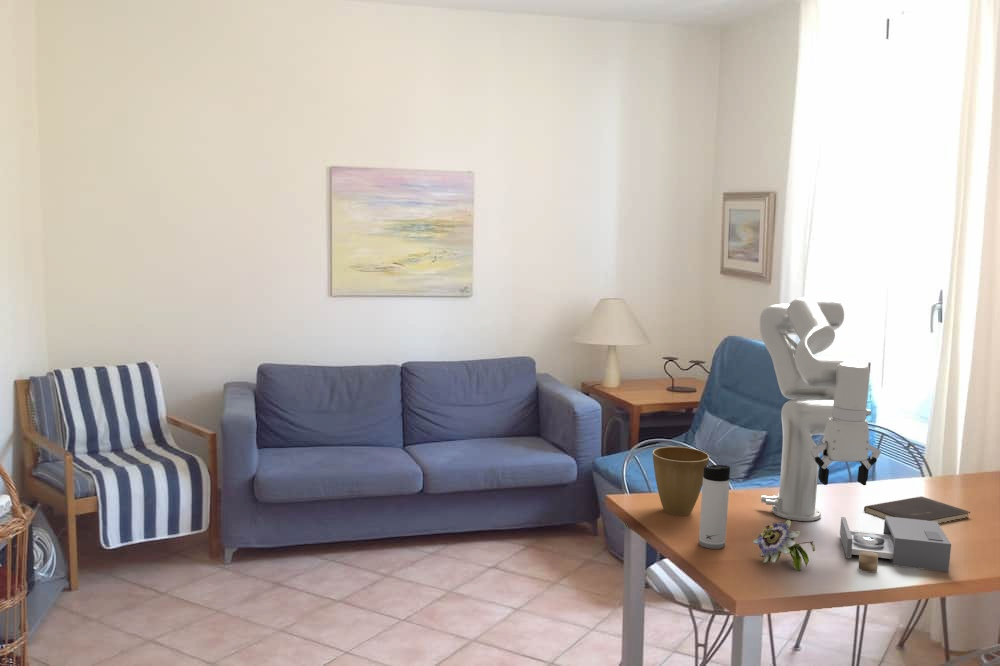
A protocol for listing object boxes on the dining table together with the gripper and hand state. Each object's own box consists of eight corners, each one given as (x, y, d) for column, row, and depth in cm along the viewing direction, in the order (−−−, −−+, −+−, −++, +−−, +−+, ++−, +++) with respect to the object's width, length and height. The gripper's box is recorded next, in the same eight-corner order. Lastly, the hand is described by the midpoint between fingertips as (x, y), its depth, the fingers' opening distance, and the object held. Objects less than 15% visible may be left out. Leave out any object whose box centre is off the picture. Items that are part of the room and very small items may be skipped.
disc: (854, 547, 230) (855, 540, 230) (851, 537, 237) (852, 531, 237) (885, 550, 229) (886, 543, 228) (881, 541, 235) (882, 534, 235)
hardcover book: (969, 520, 262) (970, 511, 262) (913, 531, 251) (913, 522, 251) (919, 503, 276) (919, 495, 276) (863, 513, 265) (864, 505, 265)
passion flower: (765, 585, 223) (741, 537, 227) (798, 569, 228) (773, 522, 232) (795, 573, 214) (768, 523, 217) (828, 557, 219) (802, 508, 223)
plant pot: (640, 504, 264) (643, 447, 262) (689, 501, 268) (693, 445, 266) (664, 521, 249) (667, 461, 247) (715, 518, 254) (719, 459, 252)
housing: (892, 565, 224) (895, 537, 223) (882, 541, 240) (885, 515, 239) (948, 571, 221) (951, 543, 220) (934, 547, 237) (937, 520, 236)
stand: (859, 570, 219) (860, 556, 219) (857, 564, 223) (858, 550, 223) (877, 573, 218) (879, 558, 218) (875, 566, 222) (877, 552, 222)
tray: (846, 557, 226) (848, 538, 226) (839, 534, 242) (841, 516, 242) (902, 563, 223) (903, 544, 223) (891, 540, 240) (893, 522, 239)
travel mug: (711, 551, 229) (716, 469, 226) (693, 542, 235) (698, 462, 232) (731, 547, 232) (737, 466, 229) (713, 539, 237) (718, 460, 235)
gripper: (875, 411, 235) (869, 479, 238) (807, 410, 233) (801, 478, 236) (891, 418, 228) (884, 488, 230) (821, 417, 226) (814, 488, 228)
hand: (842, 483), depth 233 cm, fingers open, 9 cm apart
